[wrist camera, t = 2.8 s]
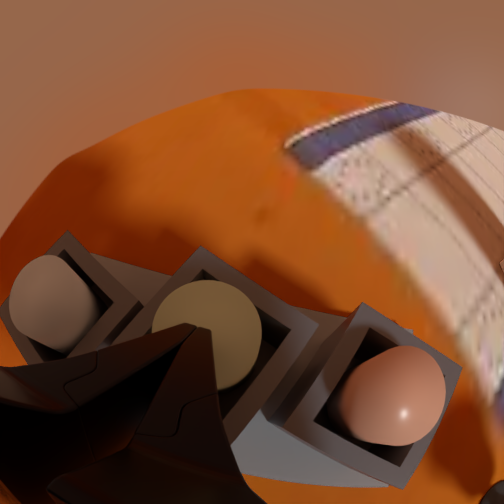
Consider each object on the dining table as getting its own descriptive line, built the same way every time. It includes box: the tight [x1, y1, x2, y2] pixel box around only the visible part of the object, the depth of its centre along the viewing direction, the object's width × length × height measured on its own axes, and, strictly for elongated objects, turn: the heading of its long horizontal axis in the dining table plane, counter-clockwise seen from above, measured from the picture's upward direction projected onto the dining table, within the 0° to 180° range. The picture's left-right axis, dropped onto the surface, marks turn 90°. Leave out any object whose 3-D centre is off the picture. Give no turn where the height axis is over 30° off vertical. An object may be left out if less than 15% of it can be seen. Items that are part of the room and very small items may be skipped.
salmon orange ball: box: [327, 346, 446, 446], centre depth 10 cm, size 4×4×4 cm
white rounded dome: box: [9, 255, 108, 356], centre depth 12 cm, size 4×4×4 cm
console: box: [0, 230, 462, 490], centre depth 14 cm, size 11×24×8 cm, turn 76°
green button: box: [152, 280, 262, 393], centre depth 11 cm, size 4×4×4 cm
